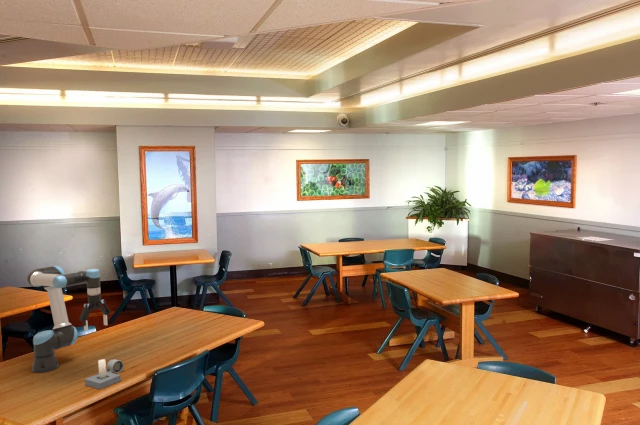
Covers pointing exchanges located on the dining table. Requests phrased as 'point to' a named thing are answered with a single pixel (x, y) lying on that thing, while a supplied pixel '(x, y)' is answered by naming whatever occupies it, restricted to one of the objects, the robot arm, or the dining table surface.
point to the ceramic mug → (114, 366)
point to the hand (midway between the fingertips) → (96, 327)
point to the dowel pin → (102, 368)
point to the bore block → (103, 383)
